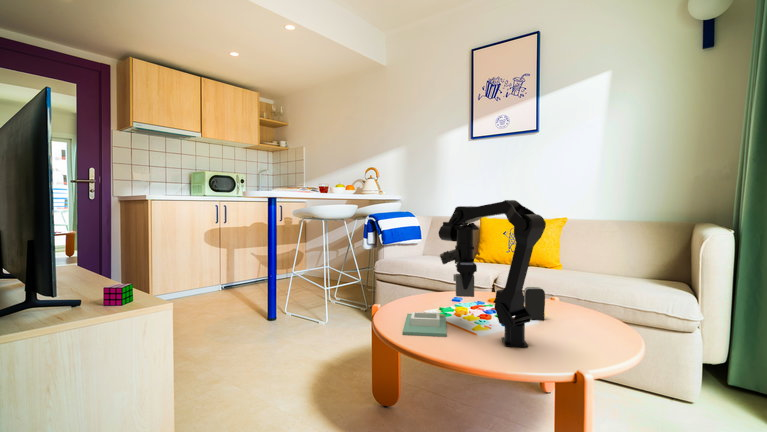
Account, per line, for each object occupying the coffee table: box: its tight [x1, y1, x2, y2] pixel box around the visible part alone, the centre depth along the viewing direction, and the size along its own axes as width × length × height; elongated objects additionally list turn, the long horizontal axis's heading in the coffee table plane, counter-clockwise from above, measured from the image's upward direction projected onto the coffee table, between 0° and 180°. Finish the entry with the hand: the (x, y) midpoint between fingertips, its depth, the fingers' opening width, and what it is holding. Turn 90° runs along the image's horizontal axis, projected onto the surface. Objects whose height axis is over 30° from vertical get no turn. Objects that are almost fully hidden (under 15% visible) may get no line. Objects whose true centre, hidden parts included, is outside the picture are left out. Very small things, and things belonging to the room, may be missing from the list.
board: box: [402, 311, 448, 338], centre depth 128 cm, size 20×14×4 cm
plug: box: [453, 273, 475, 298], centre depth 127 cm, size 4×7×7 cm, turn 82°
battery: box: [523, 286, 546, 321], centre depth 135 cm, size 7×4×11 cm, turn 81°
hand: (464, 287), depth 127 cm, fingers closed on plug, 4 cm apart
